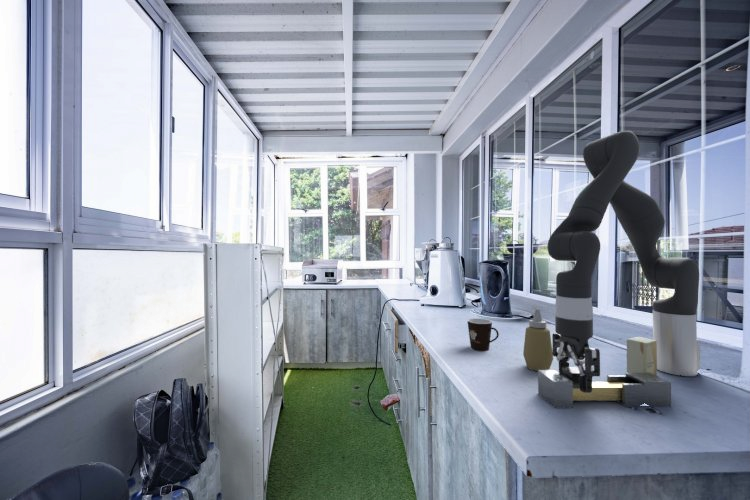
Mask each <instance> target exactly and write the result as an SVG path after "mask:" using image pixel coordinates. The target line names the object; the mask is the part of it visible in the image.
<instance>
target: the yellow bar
mask: <svg viewBox="0 0 750 500" xmlns="http://www.w3.org/2000/svg"><path fill="white" fill-rule="evenodd" d="M562 375H563V376H565V377H566V378H568V379H569V380H571V381H572V382H573V401H616V400H622V383H625V382H607V381H592V392H590V393H583V392H582V391H581V390H580V375H581V374H580V372H579V369H578V367H577V366H569V367H562Z"/></svg>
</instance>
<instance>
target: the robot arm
mask: <svg viewBox="0 0 750 500" xmlns="http://www.w3.org/2000/svg"><path fill="white" fill-rule="evenodd" d="M640 152H641V144H640V141H639V139H638V136H637V135H636V134H635V133H634V132H633V131H631V130H622V131H621V130H620V131H618V132H614V133H612V134H609V135H607V136H603V137H601V138H598V139H596V140H594V141H590V142H588V143H587V144H585V146H584V148H583V151H582V157H583V162H584V165H585V166H586V168H587V170H588V172H589V173H590V175H591V177H593V180H592V181H590V183H588V184H587V185H586V186H585V187H584V188H583V189H582V190H581V191H580V193H578V195H577V197H575V200H574V202H573V205H572V206H571V209H570V211H569V213H568V215H567V216H566V218H565V219H564V220H563V221H562V222H560V224H559V225H558V226H557V227H556V228H555V230H554V231H552V233H551V235H550V237H549V238H548V242H547V252H548V254H549V256H550V257H551V258H552V259H553V260H556V261H560V262H562V261H563V262H575V264H574V266H573V268H572V269H570V270H563V271H559V272H558V273H557V274H556V279H555V281H556V282H555V283H556V285H555V290H556V295H555V296H556V297H555V303H554V310H555V311H554V315H555V316H554V317H555V318H554V319H555V324H554V325H555V329H554V330H555V332H554V333H552V337H551V344H552V352H553V358H555V357H556V361H557V362H558V372H559V373H560V374H562V367H570V363H569V361H570V359H571V360H572V361H573V364H574V365H575V367H577V368H578V369H579V372H580V374H581V375H580V390H581V391H582V392H583V393H590V392H592V382H593V377H601V354H600V353H601V351H600V349H599V348H592V347H590V345H589V340H590V339H591V338H593V337H594V307H593V299H592V279H593V275H594V270H595V268H596V265H597V261H598V258H599V255H600V252H601V242H600V239H599V237H598V236H597V234H596V233H594V231H597V229H598V228H600V226H601V224H602V221H603V218H604V216H605V214H606V212H607V209H608V207H609V205H611V208H612V209H613V212H614V214H615V215H616V218H617V220H618V222H619V223H620V225H621V227H622V229H623V231H624V233H625V234H626V235H627V238H628V240H629V242H630V244H631V246H632V248H633V250H634V252H635V255H636V257H637V259H638V262H639V266H640V268H641V271H642V273H643V276H644V278H645V279H646V281H647V283H648V284H649V285H650V286H652V287H654V288H659V289H667V290H669V289H670V290H674V291H673V295H672V296H669V297H667V298H664V299H655V300H654V301H653V302H652V339H653V340H657V371H661V372H662V373H666V374H671V375H674V376H680V375H681V376H682V377H696V376H697V375H698V374H697V371H698V370H699V369H701V366H702V365H701V362H702V361H701V341H700V340H699V339H697V334H698V333H697V308H698V304H699V287H700V286H699V285H700V270H699V265H698V263H697V262H696V261H695V260H694V259H692V258H687V257H686V258H685V257H662V256H661V255H660V254H659V253H660V252H659V251H658V248H657V243H658V241H659V240H660V239H659V238H661V235H662V233H663V232H664V231H663V230H664V228H665V222H666V219H665V217H664V215H663V213H662V211H661V209H660V206H659V205H658V202H657V200H656V199H654V197H652V195H650V194H648V193H646V192H644V191H643V190H641V189H640V188H637V187H635V186H633V185H631V184H629V183H628V182H626V181H625V179H626V177H627V175H628V174H629V172H630V171H631V170H632V168H633V167H634V166H635V164H636V163H637V160H638V158H639V155H640Z"/></svg>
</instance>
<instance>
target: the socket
mask: <svg viewBox="0 0 750 500" xmlns="http://www.w3.org/2000/svg"><path fill="white" fill-rule="evenodd" d="M537 393H538V395H539V396H540V397H541V398H542V399H543V400H544V401H546V403H548V404H549V405H550V406H551V407H552V408H553V409H573V408H574V400H573V382H572V381H571V380H569V379H568V378H566V377H565V376H563V375H562V374H560V373H559V371H557V370H556V369H549V370H538V371H537Z"/></svg>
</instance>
